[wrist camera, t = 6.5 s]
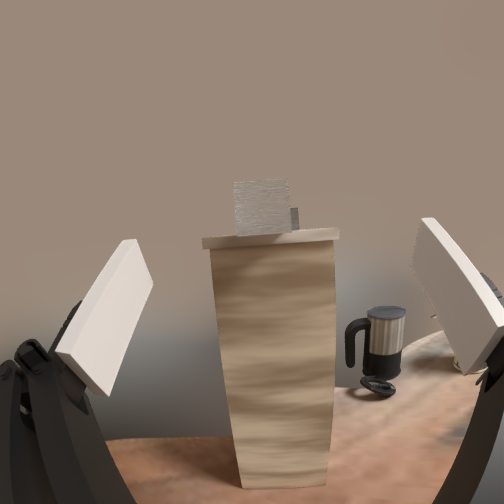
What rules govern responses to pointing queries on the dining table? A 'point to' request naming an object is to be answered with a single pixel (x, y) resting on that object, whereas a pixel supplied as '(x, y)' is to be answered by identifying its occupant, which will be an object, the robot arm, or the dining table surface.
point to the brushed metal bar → (264, 208)
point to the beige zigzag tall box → (278, 352)
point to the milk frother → (378, 346)
